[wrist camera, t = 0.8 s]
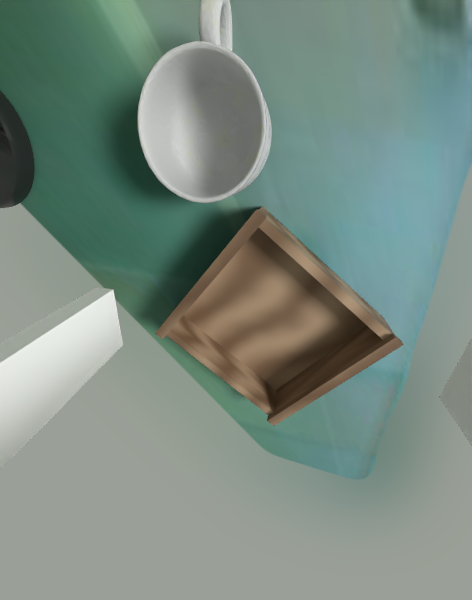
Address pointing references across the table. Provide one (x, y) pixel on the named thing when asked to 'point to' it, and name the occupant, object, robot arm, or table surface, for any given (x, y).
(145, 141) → the teacup
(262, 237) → the crate
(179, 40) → the table surface
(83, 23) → the table surface
